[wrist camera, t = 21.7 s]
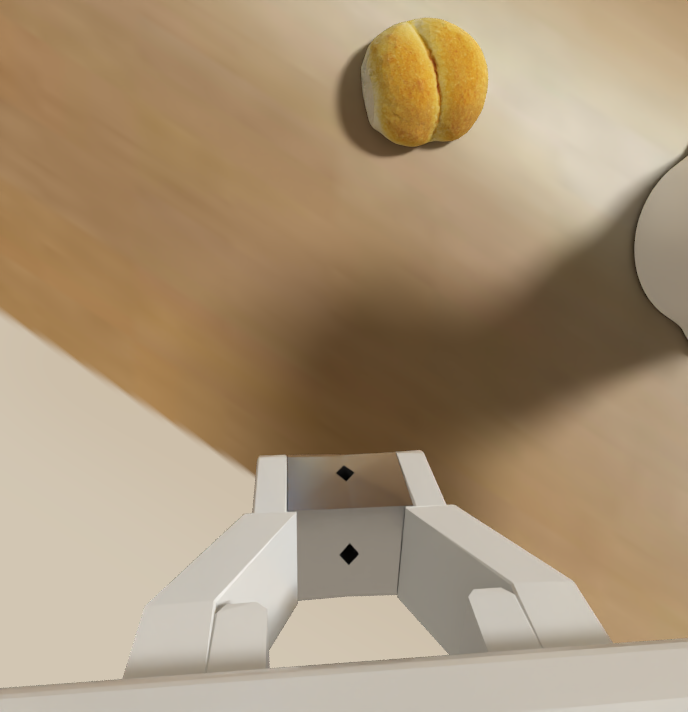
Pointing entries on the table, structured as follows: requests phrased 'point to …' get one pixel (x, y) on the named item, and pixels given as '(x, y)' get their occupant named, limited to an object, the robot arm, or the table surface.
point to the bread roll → (423, 82)
